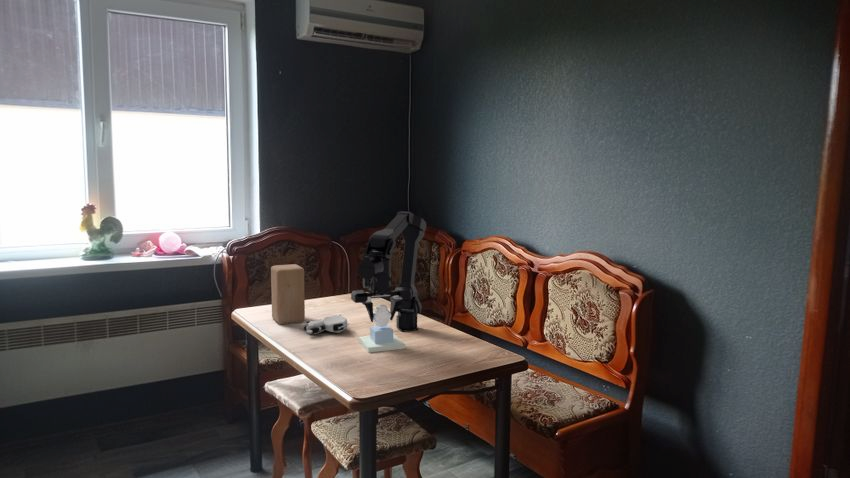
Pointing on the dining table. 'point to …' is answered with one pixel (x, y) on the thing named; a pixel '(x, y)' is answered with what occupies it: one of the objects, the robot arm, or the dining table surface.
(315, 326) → the robot toy
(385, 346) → the pale green square slab
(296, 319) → the wooden block
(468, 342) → the dining table surface
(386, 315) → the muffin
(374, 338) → the brick
